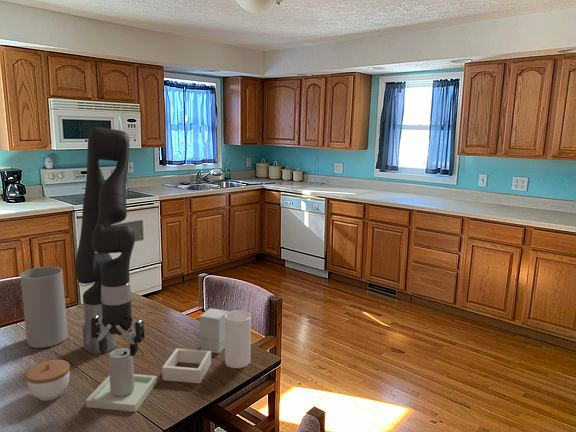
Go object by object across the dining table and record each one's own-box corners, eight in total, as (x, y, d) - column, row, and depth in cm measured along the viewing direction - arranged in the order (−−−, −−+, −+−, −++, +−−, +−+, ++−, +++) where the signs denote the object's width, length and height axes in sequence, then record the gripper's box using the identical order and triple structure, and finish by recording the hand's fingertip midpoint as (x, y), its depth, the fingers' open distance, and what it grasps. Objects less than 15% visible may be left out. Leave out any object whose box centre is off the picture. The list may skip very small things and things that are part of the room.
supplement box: (229, 344, 152) (228, 310, 149) (219, 354, 145) (218, 319, 143) (210, 340, 154) (210, 307, 152) (199, 350, 147) (199, 315, 145)
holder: (162, 380, 129) (162, 367, 129) (176, 360, 141) (176, 348, 140) (200, 383, 128) (200, 370, 127) (211, 362, 140) (211, 350, 139)
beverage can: (126, 399, 118) (124, 359, 116) (105, 396, 120) (103, 356, 117) (139, 386, 125) (137, 348, 122) (119, 383, 126) (116, 345, 123)
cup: (225, 355, 144) (225, 310, 141) (250, 354, 145) (250, 310, 142) (224, 368, 136) (223, 321, 133) (250, 367, 137) (250, 320, 134)
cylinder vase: (45, 352, 144) (38, 280, 139) (18, 344, 148) (11, 275, 144) (75, 336, 155) (70, 269, 150) (50, 329, 160) (44, 264, 155)
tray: (86, 407, 116) (85, 400, 116) (112, 378, 130) (112, 372, 129) (135, 411, 115) (135, 405, 114) (157, 382, 128) (156, 375, 128)
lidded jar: (31, 388, 124) (27, 358, 122) (72, 380, 128) (70, 351, 127) (25, 410, 114) (22, 377, 113) (70, 400, 119) (68, 369, 117)
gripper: (83, 301, 114) (86, 357, 117) (134, 306, 112) (136, 363, 115) (99, 291, 121) (102, 344, 124) (147, 295, 119) (149, 349, 122)
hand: (118, 353), depth 120 cm, fingers open, 8 cm apart
